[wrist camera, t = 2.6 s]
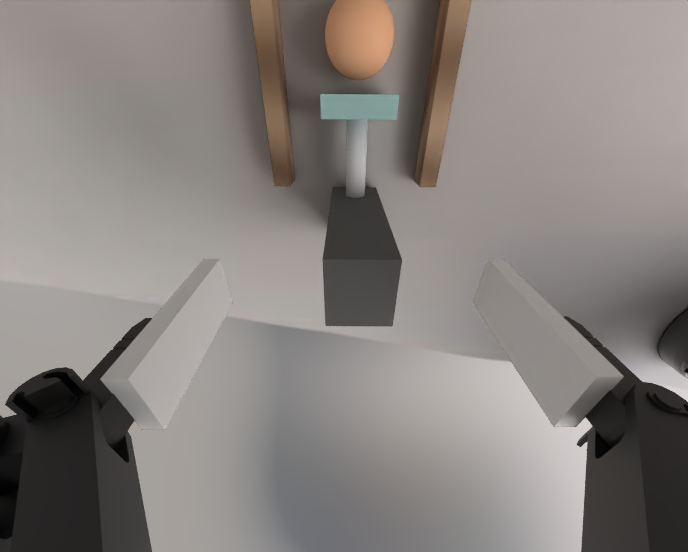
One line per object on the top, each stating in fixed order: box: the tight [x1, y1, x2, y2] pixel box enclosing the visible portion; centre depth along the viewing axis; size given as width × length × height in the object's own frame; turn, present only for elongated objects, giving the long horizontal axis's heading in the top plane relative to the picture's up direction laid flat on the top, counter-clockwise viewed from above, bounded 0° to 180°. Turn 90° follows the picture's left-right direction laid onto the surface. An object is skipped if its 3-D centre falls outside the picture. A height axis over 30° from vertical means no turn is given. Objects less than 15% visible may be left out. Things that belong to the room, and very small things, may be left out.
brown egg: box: [325, 0, 394, 80], centre depth 15 cm, size 4×4×4 cm
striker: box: [320, 94, 402, 326], centre depth 16 cm, size 10×4×12 cm, turn 0°
